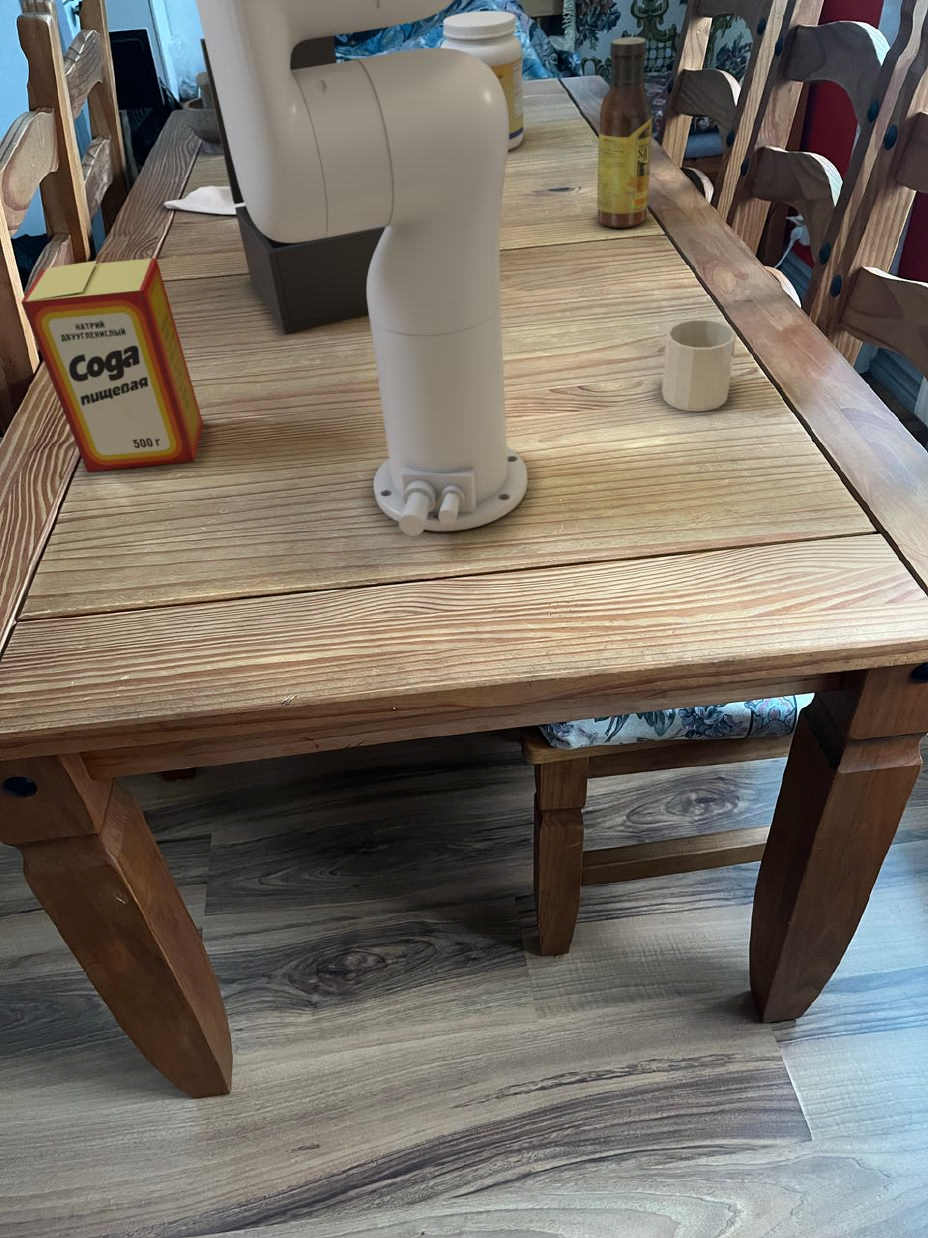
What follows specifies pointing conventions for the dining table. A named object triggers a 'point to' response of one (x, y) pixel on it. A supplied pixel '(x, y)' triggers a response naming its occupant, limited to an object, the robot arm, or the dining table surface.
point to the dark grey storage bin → (309, 275)
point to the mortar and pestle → (204, 117)
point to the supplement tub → (493, 56)
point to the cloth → (207, 201)
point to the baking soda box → (116, 362)
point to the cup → (698, 364)
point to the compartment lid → (301, 57)
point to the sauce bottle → (625, 138)
